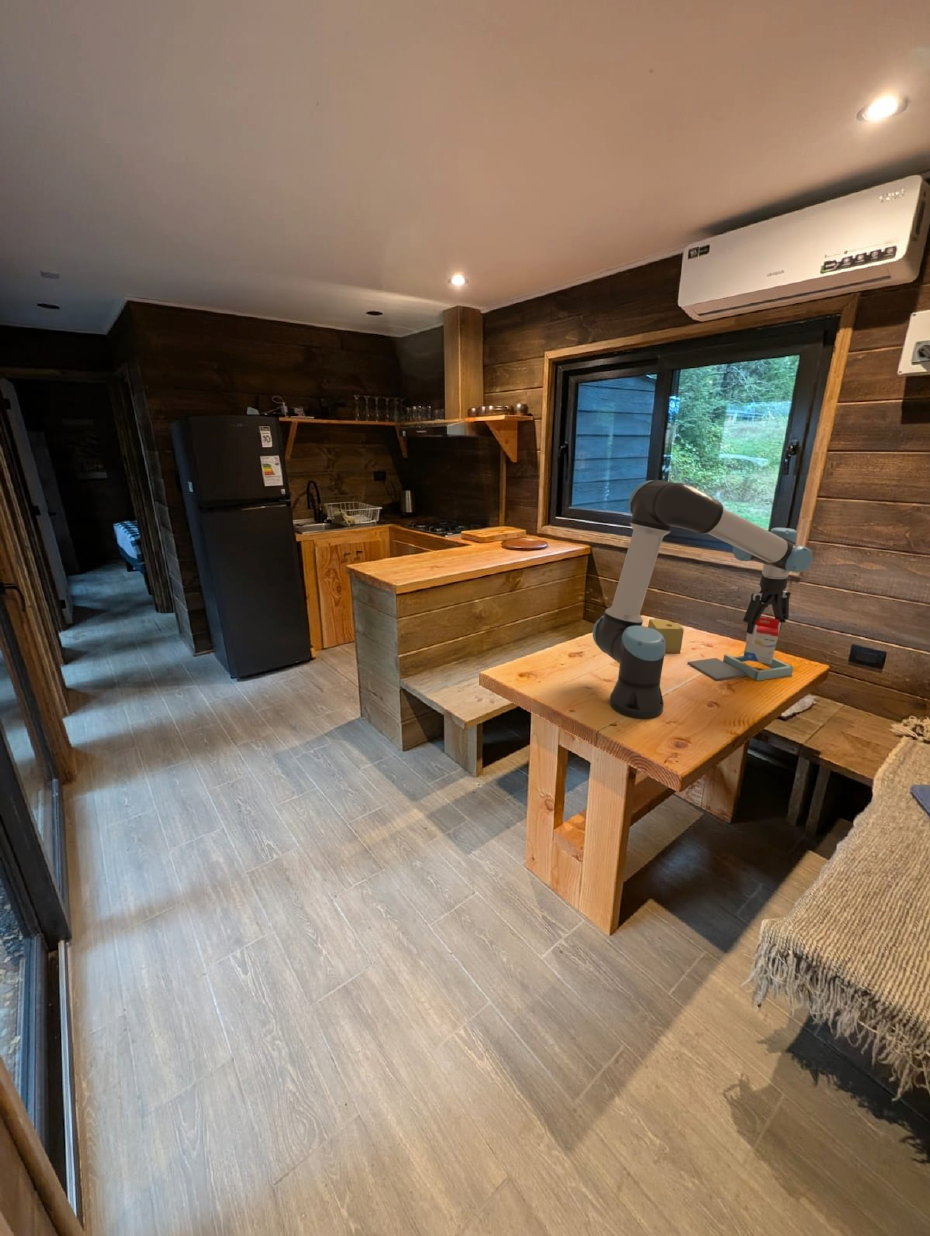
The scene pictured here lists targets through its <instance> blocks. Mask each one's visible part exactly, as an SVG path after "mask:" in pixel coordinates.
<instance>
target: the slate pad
mask: <svg viewBox="0 0 930 1236" xmlns="http://www.w3.org/2000/svg"><path fill="white" fill-rule="evenodd" d="M687 664H688V665H689V666H691V667H692V668H694V669H695V670H697V671H699V672H701V673H702V674H703V675H705V676H708V677H709V678H711V679H713V680H714V681H716V682H718V681H725V680H730V679H737V678H743V677H747V674H745V673H744V672H742V671H740V670H738V669H736V668H734V667H732V666H730V665H729V664H727V663H725V662H723V660H721V659H718V658H717V657H713V658H705V659H699V660H693V661H691V660H690V661H687Z"/></svg>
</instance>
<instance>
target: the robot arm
mask: <svg viewBox="0 0 930 1236" xmlns="http://www.w3.org/2000/svg"><path fill="white" fill-rule="evenodd" d="M628 509H629V510H630V511H629V512H630V514H631V518H630V521H629V524H630V527H631V529H632V534H631V537H630V540H629V543H628V548H627V552H626V556H625V559H624V562H623V566H622V570H621V573H620V576H619V579H618V583H617V586H616V589H615V593H614V597H613V600H612V604H611V606H610V607H609V608H607V609H605V611H604V612H603V613H604V614H603V615H602V616H600V618H599V619H597V620H596V622H595V623H594V625H593V628H592V638H593V641H594V643H595V645H596V646H597V647H598V648H599V649H600V651H602V652H603V653H604V654H605V655H608V656H609V657H610V658H612V659H613V660H614V661H615V662H617V663H618V664H619V667H618V679H617V681H616V683H615V685H614V686H613V690H612V692H611V693H610V695H609V705H610V707H611V708H612V709H613V710H614V711H615V712H617V713H618V714H621V715H623V716H626V717H630V718H633V719H634V718H635V719H652V718H653V719H655V718H657V717H658V716H661V715H662V713H663V711H664V704H665V703H664V699H663V694H662V690H661V679H662V674H663V673H662V672H663V665H664V659H665V639H664V637H663V635H662V634H661V633H659V632H658V631H656V630H654V629H652V628H648V626H644V625H643V622H644V619H643V617H642V615H641V611H642V608H643V604H644V601H645V599H646V595H647V591H648V588H649V584H650V582H651V579H652V575H653V572H654V569H655V564H656V562H657V557H658V555H659V551H660V548H661V545H662V542H663V539H664V537H665V536H666V535H668V534H670V533H671V532H672V531H671V530H672V528H673V527H675V528H680V529H683V530H688V531H692V532H694V533H697V534H699V535H707V534H708V535H710V536H712V537H715V538H716V539H719V540H721V541H722V542H724V543H727V544H729V545H731V546H732V554H733V556H734V558H735V559H736V560H737V561H738V562H739V561H741V562H750V561H751V562H756V563H759V564H763V566H762V570H761V574H762V575H761V577H760V582H759V588H760V591H759V593H755V592H754V593H752V594H751V595H750V602H749V604H748V606H747V609H746V612H745V614H744V617H743V620H742V621H743V622H744V623H746V624H747V627H746V637H745V642H746V641H747V642H749V643H751V644H754V640H755V635H756V630H757V625H755V624H756V623H757V621H758V619H759V618H760V617H762V615H763V613H764V611H765V609H766V608H768V607H769V606H770V605H771V608H772V612H773V615H774V616H773V617H774V619H778V620H779V623H778V630H779V631H780V630H781V629H782V625H783V623H786V622H787V620H789V617H790V616H789V614H790V611H789V609H790V598H791V591H786V589H787V586H788V582H789V581H788V580H789V579H788V577H789V574H790V572H792V573H802V572H804V571H806V570H807V569H808V568H809V567H810V566H811V563H812V561H813V558H814V557H813V552H812V550H811V549H810V548H808V547H806V546H803V545H801V544H799V545H798V544H797V539H798V531H797V530H795V529H793V528H789V527H787V528H786V527H774V528H771V529H770V531H769V530H767V529H765V528H763V527H761V526H759V525H758V524H756V523H753V522H751V521H750V520H747V519H746V518H744V517H741V516H739V515H737V514H735V512H732V511H730V510H728V509H726V508H725V507H724V504H723V502H721V501H720V500H717V499H715V497H712V496H710V495H709V494H707V493H705V492H703V491H701V490H700V489H697V488H696V487H694V486H692V485H689V484H687V483H683V482H673V481H668V480H662V479H653V480H652V479H651V480H645V481H643V482H641V483H640V484H637V486H636V487H635V488H634V489H633V491H631V494H630V496H629V499H628ZM752 620H753V621H752ZM779 635H780V634H778V636H779ZM778 639H779V637H778V638H777V640H778Z"/></svg>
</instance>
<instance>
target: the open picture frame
mask: <svg viewBox="0 0 930 1236" xmlns="http://www.w3.org/2000/svg"><path fill="white" fill-rule="evenodd" d="M722 661H723V662H725V663H727V664H729V665H730V666H732V667H734V668H736V669H738V670H740V671H742V672H744V673H745V674H747V675H746V677H750V678H751V679H753V680H755V681H756V682H759V681H763V680H770V679H776V678H783V677H789V676H792V675H793V672H794V666H792V665H790V664H788V663H786V662H784V661H782V660H780V659H777V658H776V657H773V660H772V664H767V663H763V664H764V665H766V666H768V667H770V668H766V669H765V668H764V669H760V670H759V669H757V668H754V667H753V666H751V665H749V664H747V663H745V661H747V660H744V655H739V656H731V655H729V654H723V658H722Z"/></svg>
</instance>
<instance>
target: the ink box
mask: <svg viewBox="0 0 930 1236" xmlns="http://www.w3.org/2000/svg"><path fill="white" fill-rule="evenodd" d="M752 621H753V620H752ZM764 621H766V622H764ZM778 623H779V620H778V619H775V618H770V617H762V616H760V618H759V619H758V621H757V623H756V624H755V625H757V630H756V635H755V640H754V644H751V643H749V642H747V641H746V640H745V646H744V647H745V648H744V651H743V656H744V660H746V661H750V662H757V663H761V664H764V663H767V664H772V660H773V658H774V654H775V652H776V651H775V650H776V647H777V642H778V639H779V635H780V634H779V633H780V630H778ZM778 634H779V635H778ZM777 638H778V639H777Z"/></svg>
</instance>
